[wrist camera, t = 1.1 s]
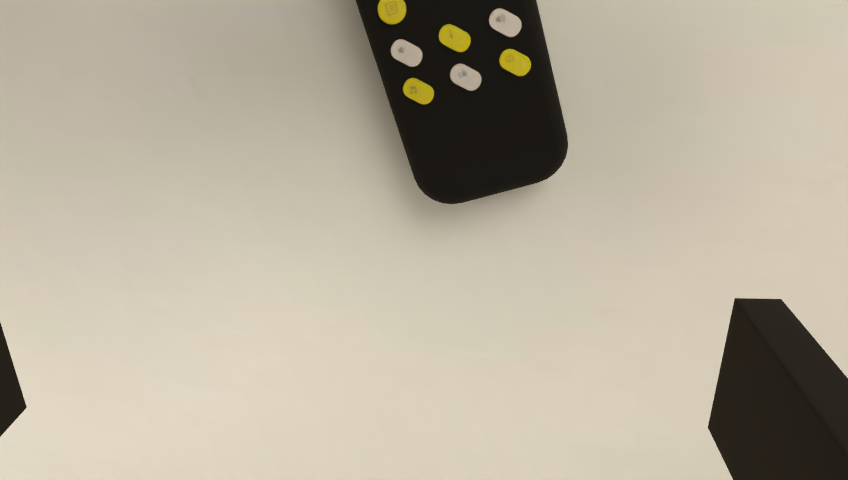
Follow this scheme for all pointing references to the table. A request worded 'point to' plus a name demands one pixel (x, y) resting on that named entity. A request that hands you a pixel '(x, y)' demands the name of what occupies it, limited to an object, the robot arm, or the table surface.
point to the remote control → (469, 93)
